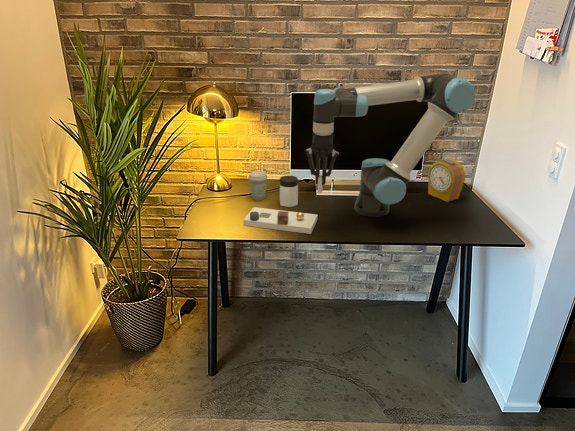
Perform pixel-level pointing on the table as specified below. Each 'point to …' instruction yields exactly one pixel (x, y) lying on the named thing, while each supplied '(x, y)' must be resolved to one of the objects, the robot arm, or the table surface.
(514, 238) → the table surface
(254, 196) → the coffee cup
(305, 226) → the plate
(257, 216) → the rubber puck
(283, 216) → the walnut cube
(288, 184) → the jar
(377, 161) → the robot arm
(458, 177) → the alarm clock
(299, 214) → the ball
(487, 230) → the table surface
